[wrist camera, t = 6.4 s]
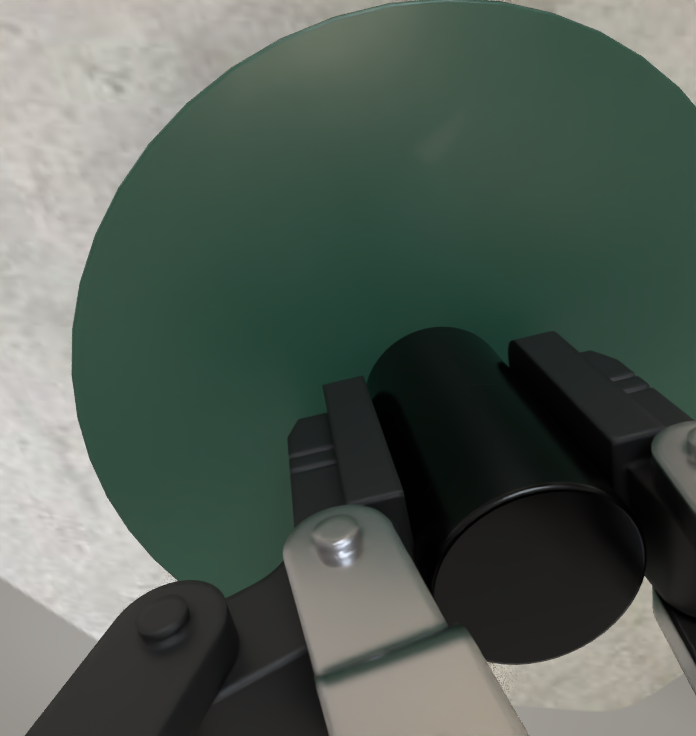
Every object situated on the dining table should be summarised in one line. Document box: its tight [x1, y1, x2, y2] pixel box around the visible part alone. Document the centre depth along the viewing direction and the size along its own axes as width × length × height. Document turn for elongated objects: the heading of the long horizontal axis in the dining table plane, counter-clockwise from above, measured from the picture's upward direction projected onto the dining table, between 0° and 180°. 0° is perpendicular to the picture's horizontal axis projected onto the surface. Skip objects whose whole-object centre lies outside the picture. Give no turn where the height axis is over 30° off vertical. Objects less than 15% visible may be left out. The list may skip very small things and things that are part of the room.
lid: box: [72, 0, 696, 665], centre depth 10 cm, size 13×13×6 cm
